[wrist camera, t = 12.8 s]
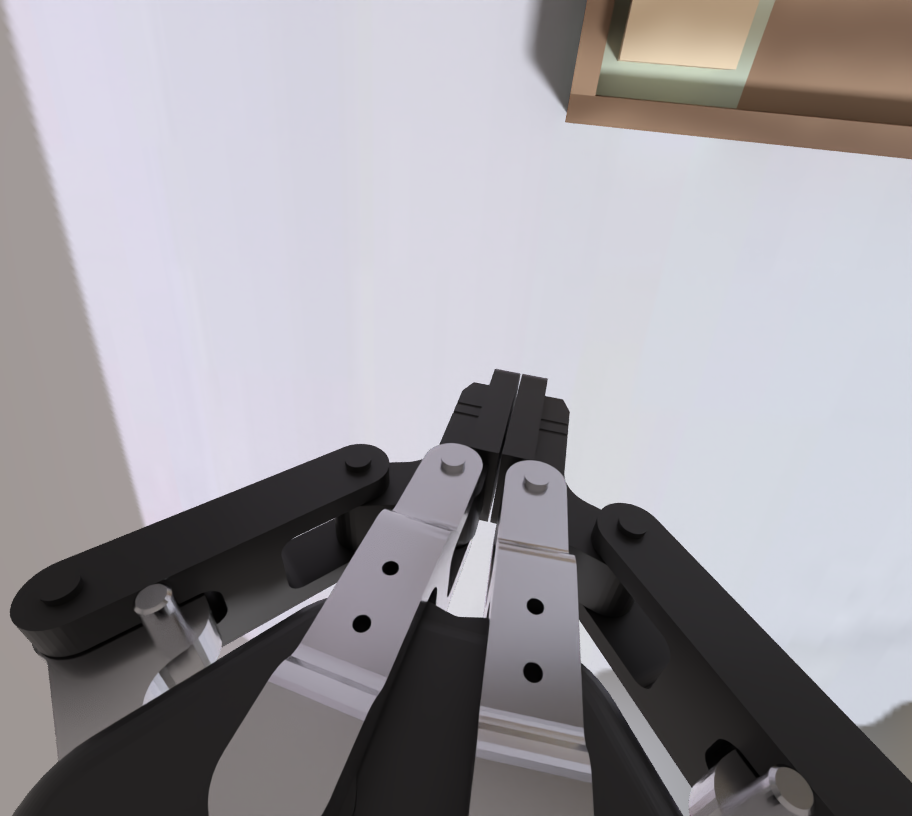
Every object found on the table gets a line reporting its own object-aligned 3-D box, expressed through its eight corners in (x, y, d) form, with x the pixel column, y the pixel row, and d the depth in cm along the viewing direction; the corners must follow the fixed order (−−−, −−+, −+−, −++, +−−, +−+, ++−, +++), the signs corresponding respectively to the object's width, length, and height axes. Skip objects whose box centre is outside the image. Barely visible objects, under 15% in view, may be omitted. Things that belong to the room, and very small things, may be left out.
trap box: (614, -134, 27) (617, -169, 23) (1325, -117, 22) (1487, -158, 18) (569, 116, 34) (565, 122, 30) (1096, 171, 29) (1175, 187, 25)
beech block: (642, -52, 26) (647, -69, 23) (758, -46, 25) (781, -63, 22) (617, 60, 29) (619, 59, 26) (720, 69, 28) (735, 69, 25)
